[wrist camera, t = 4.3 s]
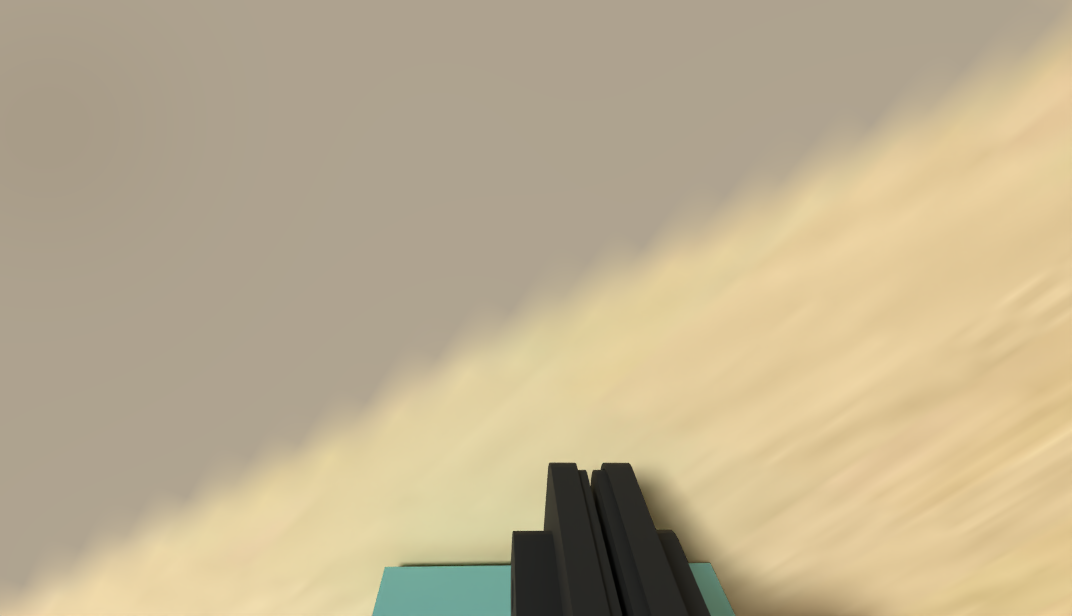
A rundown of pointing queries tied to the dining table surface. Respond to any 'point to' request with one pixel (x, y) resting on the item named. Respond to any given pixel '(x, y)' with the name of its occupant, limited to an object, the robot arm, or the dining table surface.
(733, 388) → the dining table surface
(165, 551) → the dining table surface
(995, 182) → the dining table surface
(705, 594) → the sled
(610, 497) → the robot arm
